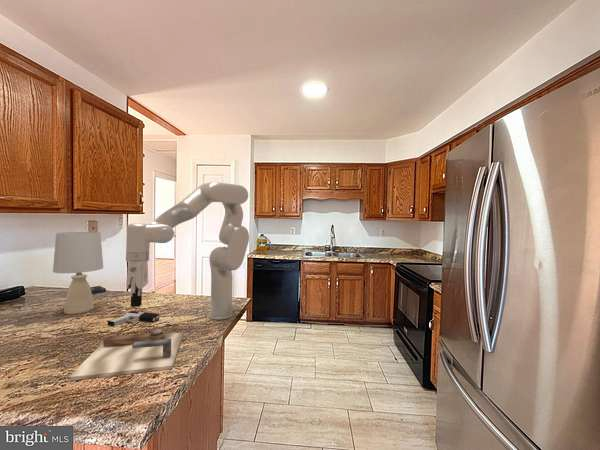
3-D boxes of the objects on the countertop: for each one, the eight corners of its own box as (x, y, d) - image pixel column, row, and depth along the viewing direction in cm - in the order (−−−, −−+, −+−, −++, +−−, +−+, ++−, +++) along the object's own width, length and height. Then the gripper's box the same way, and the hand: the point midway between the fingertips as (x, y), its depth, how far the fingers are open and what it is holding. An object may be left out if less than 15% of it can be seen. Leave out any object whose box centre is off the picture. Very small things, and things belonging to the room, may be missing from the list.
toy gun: (140, 324, 111) (161, 312, 123) (106, 320, 115) (130, 309, 126) (140, 332, 111) (161, 320, 123) (106, 327, 115) (130, 316, 127)
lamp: (43, 313, 127) (43, 232, 126) (87, 302, 144) (87, 231, 144) (68, 320, 120) (68, 234, 119) (112, 307, 137) (112, 232, 137)
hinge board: (183, 334, 107) (183, 319, 107) (171, 368, 83) (172, 348, 83) (105, 341, 100) (105, 325, 100) (68, 380, 76) (68, 359, 76)
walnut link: (165, 336, 102) (165, 330, 102) (163, 341, 98) (163, 335, 98) (106, 341, 97) (106, 335, 97) (100, 347, 93) (100, 341, 93)
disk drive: (99, 290, 172) (69, 294, 160) (99, 285, 171) (69, 290, 159) (106, 293, 165) (75, 298, 153) (106, 288, 165) (75, 293, 153)
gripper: (143, 259, 97) (141, 312, 98) (153, 254, 112) (152, 300, 112) (119, 259, 95) (117, 313, 96) (132, 254, 110) (131, 301, 110)
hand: (136, 306), depth 104 cm, fingers closed
